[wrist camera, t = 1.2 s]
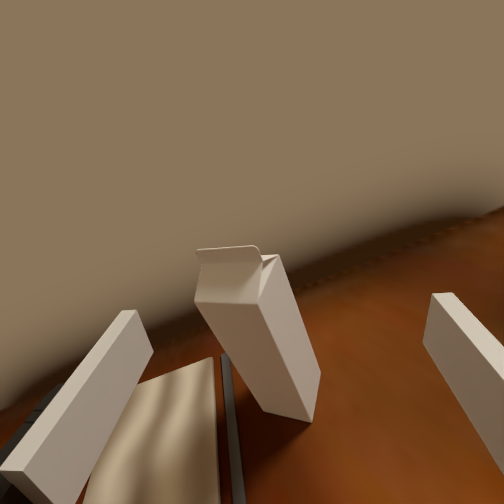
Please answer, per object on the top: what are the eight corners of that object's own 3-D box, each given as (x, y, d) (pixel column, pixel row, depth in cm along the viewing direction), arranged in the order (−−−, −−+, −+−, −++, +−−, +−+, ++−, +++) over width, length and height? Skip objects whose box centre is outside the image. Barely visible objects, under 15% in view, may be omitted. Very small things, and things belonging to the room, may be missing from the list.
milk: (277, 366, 37) (210, 229, 26) (322, 373, 34) (269, 222, 23) (262, 412, 33) (174, 273, 21) (313, 425, 30) (242, 271, 18)
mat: (229, 352, 41) (227, 350, 41) (246, 507, 26) (244, 505, 26) (116, 395, 42) (113, 393, 42) (68, 570, 27) (64, 569, 26)
